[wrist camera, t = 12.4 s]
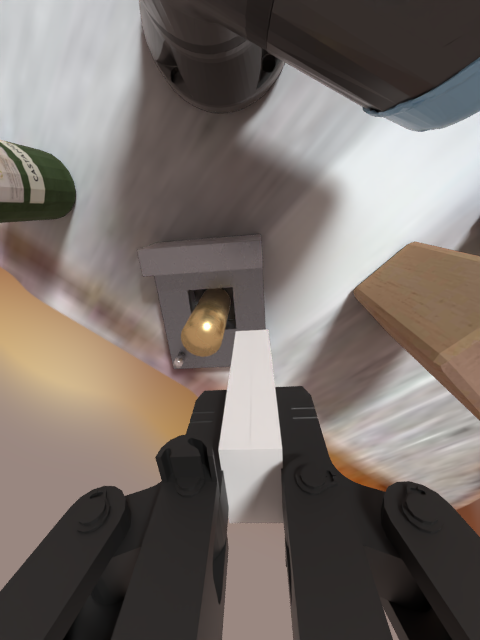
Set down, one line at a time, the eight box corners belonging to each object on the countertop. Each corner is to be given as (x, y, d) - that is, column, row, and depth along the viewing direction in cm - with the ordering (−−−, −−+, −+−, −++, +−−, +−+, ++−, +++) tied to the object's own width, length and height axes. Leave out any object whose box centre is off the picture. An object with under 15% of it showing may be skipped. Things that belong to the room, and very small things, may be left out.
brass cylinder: (199, 288, 39) (177, 320, 28) (229, 286, 39) (219, 318, 28) (203, 316, 41) (184, 357, 30) (232, 314, 41) (224, 355, 29)
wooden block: (390, 335, 41) (502, 443, 22) (348, 290, 38) (435, 369, 20) (452, 289, 37) (643, 370, 19) (411, 237, 35) (584, 272, 17)
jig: (157, 242, 37) (136, 250, 30) (260, 233, 36) (261, 240, 29) (179, 356, 44) (166, 383, 37) (266, 352, 43) (268, 378, 36)
